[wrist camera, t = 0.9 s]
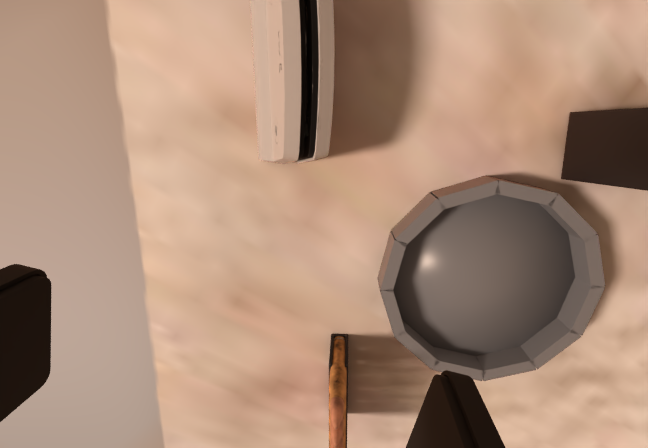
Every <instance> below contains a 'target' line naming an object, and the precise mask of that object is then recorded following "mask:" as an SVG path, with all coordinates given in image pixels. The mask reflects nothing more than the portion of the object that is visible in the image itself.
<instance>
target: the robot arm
mask: <svg viewBox="0 0 648 448" xmlns="http://www.w3.org/2000/svg"><path fill="white" fill-rule="evenodd" d="M50 344H51V281H50V280H49V279H48V278H47V275H46V274H45V272H44V271H42V270H40V269H36V268H31V267H27V266H23V265H19V264H14V265H10V266H8V267H5V268H3V269H0V422H1V421H2V420H3V419H4V418H6V417H7V416H8V415H9V414H10V413H11V412H12V411H14V410H15V409H16V408H17V407H18V406H20V405H21V404H22V403H23V402H24V401H25V400H26V399H28V398H29V397H30V396H31V395H33V394H34V393H35V392H36V391H37V390H38V389H40V388H41V387H42V386H43V385H44V383H45V382H46V380H47V379H48V377H49V374H50V358H51V357H50V356H51V355H50V354H51V352H50V351H51V347H50V346H51V345H50ZM406 448H505V446H504V444H503V442H502V440H501V438H500V435H499V433H498V431H497V429H496V427H495V425H494V423H493V421H492V419H491V417H490V414H489V412H488V410H487V408H486V406H485V404H484V402H483V400H482V398H481V396H480V393H479V391H478V389H477V387H476V385H475V383H474V381H473V379H472V378H471V377H470V376H468V375H464V374H460V373H456V372H452V371H448V370H445V371H443V373H442V374H441V375H435V376H434V377H433V379H432V382H431V384H430V387H429V389H428V392H427V395H426V397H425V400H424V402H423V405H422V407H421V410H420V413H419V415H418V418H417V420H416V423H415V425H414V428H413V431H412V433H411V436H410V438H409V441H408V443H407V446H406Z"/></svg>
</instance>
